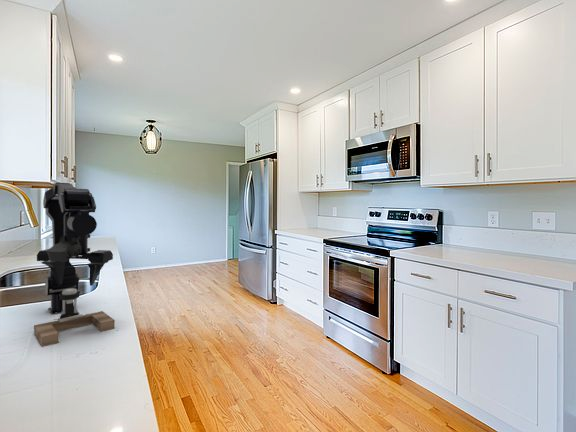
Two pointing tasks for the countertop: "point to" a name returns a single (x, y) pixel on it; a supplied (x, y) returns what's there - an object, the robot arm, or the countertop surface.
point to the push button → (69, 302)
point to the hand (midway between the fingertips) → (75, 284)
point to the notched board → (71, 326)
